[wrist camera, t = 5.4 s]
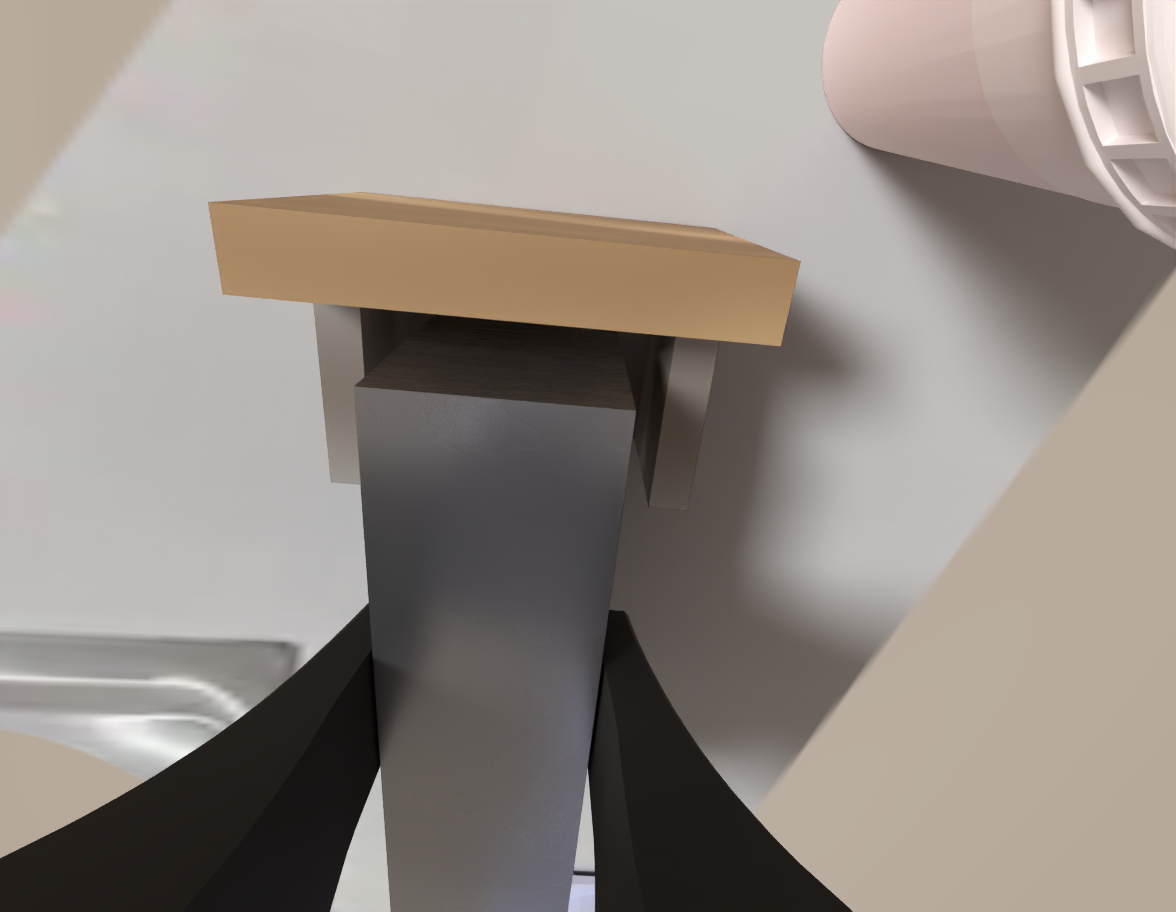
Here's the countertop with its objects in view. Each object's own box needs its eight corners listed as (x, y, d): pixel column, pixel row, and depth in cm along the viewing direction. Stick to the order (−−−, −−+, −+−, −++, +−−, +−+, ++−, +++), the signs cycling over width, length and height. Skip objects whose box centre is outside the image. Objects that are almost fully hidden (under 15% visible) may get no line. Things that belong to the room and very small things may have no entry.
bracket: (678, 435, 16) (727, 570, 10) (374, 409, 16) (261, 535, 10) (714, 228, 14) (800, 261, 8) (361, 191, 13) (207, 202, 8)
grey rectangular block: (436, 312, 12) (353, 386, 8) (616, 330, 13) (636, 411, 8) (441, 724, 17) (390, 915, 13) (570, 732, 18) (566, 923, 13)
